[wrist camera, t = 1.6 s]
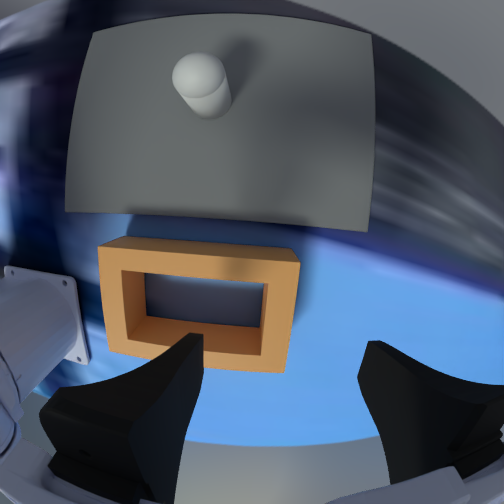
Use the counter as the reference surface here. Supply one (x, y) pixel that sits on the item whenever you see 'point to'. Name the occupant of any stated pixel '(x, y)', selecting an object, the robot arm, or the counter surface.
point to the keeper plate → (226, 121)
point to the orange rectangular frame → (200, 266)
